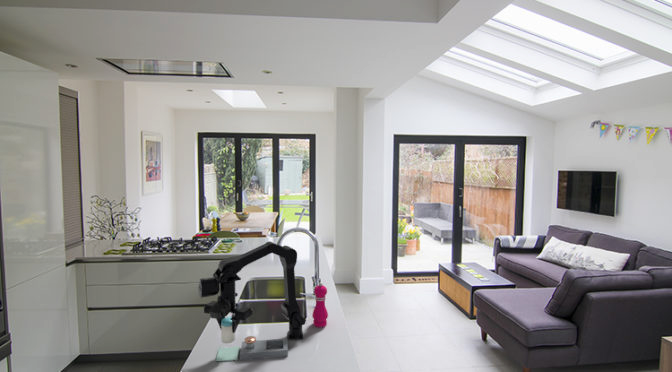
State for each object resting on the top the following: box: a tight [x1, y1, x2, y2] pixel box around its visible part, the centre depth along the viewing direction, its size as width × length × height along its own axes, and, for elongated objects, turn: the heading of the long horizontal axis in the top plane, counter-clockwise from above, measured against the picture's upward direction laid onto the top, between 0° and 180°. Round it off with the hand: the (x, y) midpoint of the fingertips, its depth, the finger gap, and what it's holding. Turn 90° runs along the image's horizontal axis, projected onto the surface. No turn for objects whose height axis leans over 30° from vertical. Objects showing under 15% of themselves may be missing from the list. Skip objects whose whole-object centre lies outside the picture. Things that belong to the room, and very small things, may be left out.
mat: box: [214, 346, 241, 363], centre depth 137 cm, size 9×8×1 cm
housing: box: [239, 337, 289, 361], centre depth 140 cm, size 9×18×2 cm, turn 100°
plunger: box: [244, 335, 257, 349], centre depth 139 cm, size 4×4×6 cm
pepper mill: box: [312, 282, 329, 328], centre depth 163 cm, size 7×7×20 cm
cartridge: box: [220, 316, 236, 344], centre depth 137 cm, size 5×5×8 cm
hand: (228, 331), depth 137 cm, fingers closed on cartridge, 5 cm apart
